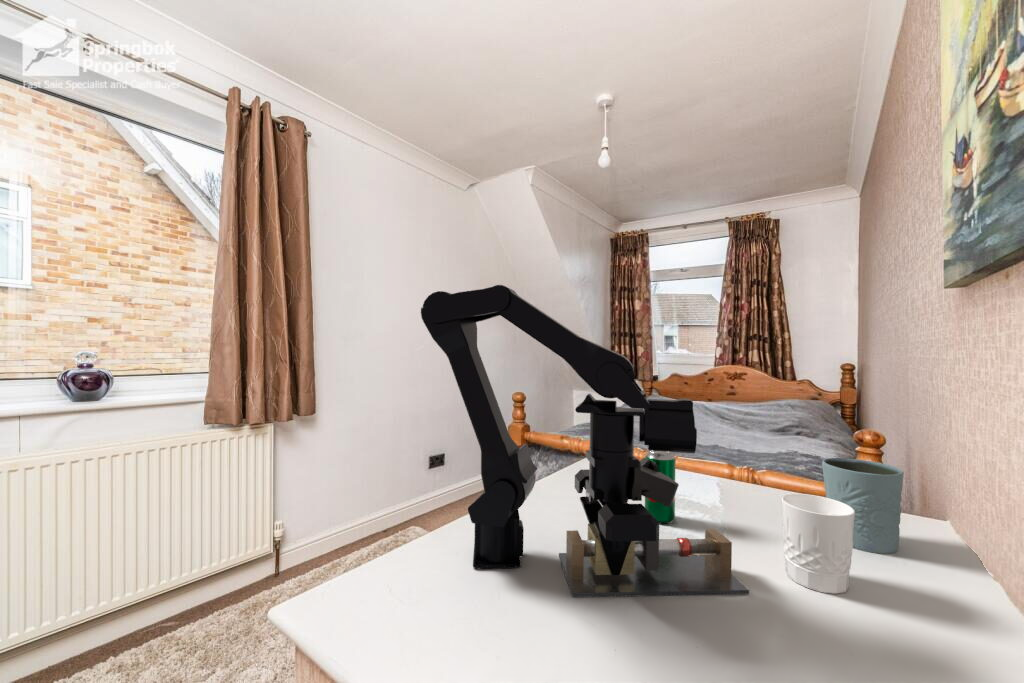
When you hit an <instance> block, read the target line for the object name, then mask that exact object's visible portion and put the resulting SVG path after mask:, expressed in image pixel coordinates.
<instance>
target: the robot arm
mask: <svg viewBox="0 0 1024 683" xmlns="http://www.w3.org/2000/svg"><path fill="white" fill-rule="evenodd" d="M500 316H501V317H502V318H504V319H505V320H507V321H508V322H509V323H511V324H512V325H514V326H515V327H517V328H519V329H520V330H521V331H522V332H524V333H525V334H527V335H528V336H530V337H531V338H533V339H534V340H536V342H538V343H540V344H541V345H543V346H544V347H546V348H547V349H548V350H550V351H551V352H553V353H554V354H556V355H558V356H559V357H561V358H562V359H563V360H564V361H565V362H566V363H567V364H568V365H569V366H570V367H571V368H572V370H573V371H574V372H575V373H576V374H577V375H578V376H579V378H581V380H583V381H584V382H585V383H586V384H587V385H588V386H589V387H590V388H591V389H592V390H593V391H594V392H595V393H596V394H598V395H599V396H601V397H603V398H605V399H596V398H595V397H593V395H592V393H588V394H587V395H585V398H584V400H582V402H580V403H578V404H577V406H576V407H575V409H574V410H575V412H576V413H579V414H589V450H588V449H586V450H585V458H586V459H587V461H588V462H589V469H579V471H578V472H577V473H576V474H574V489H575V490H576V492H577V494H582V493H583V492H584V490H585V496H580V497H579V501H580V503H581V506H582V508H583V510H584V513H585V515H586V518H587V521H588V524H594V525H595V528H596V531H597V534H598V537H599V540H600V543H601V546H602V549H603V552H604V555H605V558H606V561H607V564H608V567H609V570H610V573H611V574H612V575H620V573H621V570H622V567H623V564H624V561H625V558H626V555H627V552H628V549H629V546H630V544H631V542H632V541H657V540H658V539H660V523H659V522H658V521H657V520H656V519H655V518H654V516H653V515H652V514H651V513H650V512H649V511H648V510H647V509H646V508H645V505H643V504H642V503H629V500H631V501H632V502H633V501H634V502H639V501H640V502H642V499H643V498H642V496H643V497H644V498H645V497H647V498H650V499H652V500H655V501H658V502H661V503H662V504H663V505H664V506H667V507H671V505H672V502H673V499H674V496H675V497H676V493H677V491H678V488H679V483H678V482H676V480H675V481H674V480H672V479H671V478H670V477H668V476H666V475H664V474H663V473H662V472H658V467H657V464H656V463H655V462H653V461H652V460H649V459H646V458H645V457H643V458H642V459H641V460H639V459H638V458H637V457H636V455H635V456H634V449H635V448H634V446H635V445H634V444H635V441H634V437H635V417H638V438H639V439H638V441H639V443H644V446H647V450H653V451H667V452H673V453H681V454H682V453H683V454H693V455H694V454H696V449H697V439H698V438H697V437H698V436H697V435H698V429H697V427H696V423H695V413H694V402H693V401H692V400H691V399H690V398H675V399H660V398H648V396H647V393H646V390H642V388H641V387H640V385H639V384H638V383H637V382H636V380H635V370H634V366H633V364H632V362H631V360H629V358H627V357H626V356H625V355H623V354H621V353H619V352H616V351H613V350H611V349H609V348H608V347H605V346H603V345H600V344H598V343H595V342H593V341H590V340H589V339H586V338H584V337H581V336H580V335H579V334H577V333H575V332H574V331H573V330H571V329H569V328H567V327H566V326H565V325H563V324H561V323H560V322H558V321H557V320H555V318H553V317H552V316H549V315H548V314H547V313H546V312H544V311H542V310H541V309H539V308H537V306H535V305H533V304H532V303H530V302H529V301H527V300H526V299H524V298H523V297H521V296H520V295H518V293H517V292H516V291H515V290H513V289H512V288H510V287H508V286H505V285H502V284H496V285H493V286H491V287H487V288H482V289H480V288H479V289H473V290H466V291H465V290H464V291H459V292H454V293H450V292H447V291H442V290H441V291H435V292H432V293H431V294H429V295H428V296H427V297H426V299H425V300H424V302H423V304H422V306H421V307H420V317H421V319H422V322H423V323H424V326H425V327H426V329H427V332H428V333H429V335H430V336H431V339H433V341H434V342H435V344H437V346H438V347H439V348H440V349H441V350H442V352H443V353H444V354H445V355H446V357H447V359H448V362H449V365H450V367H451V370H452V373H453V375H454V379H455V381H456V384H457V387H458V389H459V392H460V394H461V398H462V400H463V403H464V406H465V409H466V412H467V414H468V418H469V419H470V422H471V426H472V428H473V431H474V434H475V437H476V439H477V443H478V446H479V448H480V474H481V481H482V486H483V492H482V493H481V494H480V495H479V496H478V497H477V498H476V499H475V500H474V501H473V502H472V503H471V504H469V506H468V507H467V511H468V516H469V519H470V521H471V524H474V540H473V541H474V544H473V556H472V557H473V558H472V568H474V569H487V568H488V569H494V568H495V569H497V568H499V569H500V568H503V569H504V568H520V567H521V564H522V563H521V557H523V556H524V531H525V530H524V524H523V523H524V522H523V521H522V519H520V514H519V512H520V511H519V509H520V508H521V507H522V505H524V503H525V501H526V500H527V498H528V497H529V496H530V494H531V493H532V491H533V489H534V487H535V485H536V474H535V473H536V471H538V467H537V466H536V464H534V462H533V460H532V457H531V454H530V453H531V452H530V448H529V445H528V444H527V443H525V444H523V445H521V446H520V447H519V446H518V444H517V443H516V442H515V441H514V440H513V438H512V437H511V435H510V433H509V431H508V427H507V425H506V422H505V420H504V416H503V414H502V412H501V408H500V406H499V403H498V401H497V398H496V395H495V392H494V390H493V387H492V384H491V382H490V379H489V375H488V373H487V371H486V368H485V365H484V362H483V360H482V357H481V353H480V351H479V349H478V348H479V347H478V326H477V323H479V322H483V321H487V320H490V319H492V318H496V317H500ZM608 399H618V400H619V401H621V402H623V403H624V404H625V405H627V407H620V406H617V402H618V401H617V400H608Z"/></svg>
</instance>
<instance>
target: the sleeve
mask: <svg viewBox="0 0 1024 683" xmlns="http://www.w3.org/2000/svg"><path fill="white" fill-rule="evenodd" d="M587 540H594V541H595V557H588V559H589V562H590V564H591V566H592V568H593V570H594V572H595V575H612V574H611V573H610V570H609V567H608V564H607V561H606V558H605V555H604V552H603V549H602V546H601V543H600V540H599V537H598V534H597V531H596V528H595V525H594V524H589V523H587ZM634 549H635V541H632V542H631V544H630V546H629V549H628V552H627V555H626V558H625V561H624V564H623V567H622V570H621V573H620V575H623V574H634Z"/></svg>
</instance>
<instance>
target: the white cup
mask: <svg viewBox="0 0 1024 683" xmlns="http://www.w3.org/2000/svg"><path fill="white" fill-rule="evenodd" d="M781 516H782V518H781V519H782V520H781V521H782V539H783V552H784V554H785V555H784V561H785V564H784V565H785V572H786V574H787V576H788V577H789V578H790V579H791V581H793V582H795V583H796V584H798V585H800V586H802V587H804V588H807V589H810V590H813V591H816V592H820V593H825V594H832V595H833V594H834V595H835V594H836V595H837V594H838V595H839V594H841V593H842V594H843V593H846V592H847V590H848V589H849V585H850V572H851V571H850V570H851V566H852V556H853V549H854V548H853V533H854V518H855V511H854V509H853V508H852V507H850V506H848V505H846V504H844V503H842V502H839V501H836V500H833V499H829V498H826V496H821V495H814V494H807V493H806V494H805V493H788V494H784V495H782V496H781Z"/></svg>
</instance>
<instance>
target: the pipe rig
mask: <svg viewBox="0 0 1024 683" xmlns="http://www.w3.org/2000/svg"><path fill="white" fill-rule="evenodd" d="M565 542H566V543H565V544H566V547H565V548H566V549H565V550H566V551H565V552H558V557H559V560H560V564H561V566H562V570H563V572H564V573H563V574H564V576H565V578H566V579H565V580H566V582H567V584H568V588H569V590H570V595H571V597H572V598H598V597H599V598H600V597H601V598H605V597H607V598H609V597H612V598H613V597H649V596H650V597H660V596H661V597H663V596H664V597H665V596H713V595H715V596H717V595H719V596H720V595H721V596H722V595H723V596H724V595H726V596H727V595H749V593H750V590H749V588H748V587H746V585H744V583H742V582H741V581H740V580H739V579H738V577H736V576H735V575H734V574H733V573H732V557H733V554H732V551H733V550H732V548H733V546H732V545H733V543H732V541H731V540H729V539H728V538H727V537H726V536H725V535H723V534H722V533H721V532H719V531H718V530H717V529H715V528H714V529H713V528H711V529H710V528H709V529H707V528H705V530H704V538H688V537H676V538H670V539H669V538H668V539H667V538H665V539H664V538H661V539H660V538H659V570H651V571H646V569H645V568H644V566H643V565H642V564H641V562H640V561H639V559H638V558H637V556H645V541H635V549H634V574H623V575H595V572H594V570H593V568H592V566H591V564H590V562H589V559H588V557H595V541H594V540H588V539H582V536H581V535H580V533H579V531H578V530H566V541H565Z"/></svg>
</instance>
